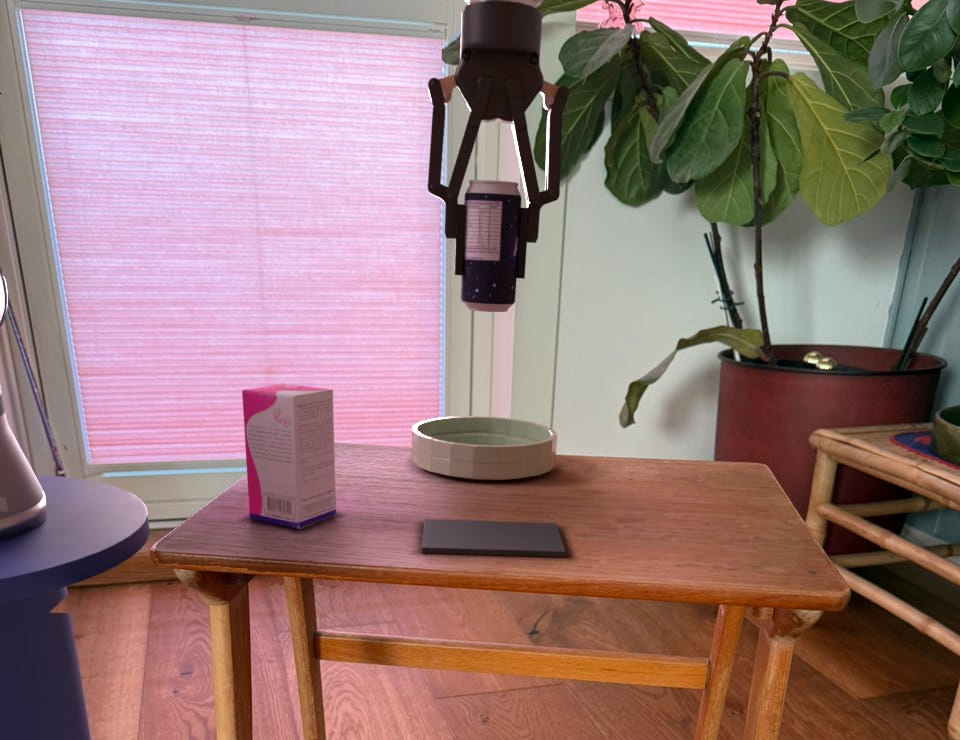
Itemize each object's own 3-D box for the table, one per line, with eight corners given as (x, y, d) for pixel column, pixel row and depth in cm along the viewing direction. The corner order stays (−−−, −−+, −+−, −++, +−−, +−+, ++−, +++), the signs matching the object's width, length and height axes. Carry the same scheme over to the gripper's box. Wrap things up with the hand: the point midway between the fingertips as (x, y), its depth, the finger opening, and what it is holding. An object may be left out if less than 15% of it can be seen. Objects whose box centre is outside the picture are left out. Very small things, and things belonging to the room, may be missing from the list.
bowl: (408, 481, 96) (409, 443, 94) (414, 447, 111) (415, 414, 109) (561, 486, 97) (564, 449, 95) (546, 451, 111) (549, 418, 110)
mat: (421, 553, 75) (421, 547, 75) (424, 524, 83) (424, 519, 82) (565, 557, 76) (566, 551, 76) (555, 528, 83) (556, 523, 83)
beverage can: (520, 313, 93) (529, 182, 88) (466, 311, 92) (472, 178, 87) (506, 308, 98) (514, 184, 93) (455, 306, 97) (459, 181, 92)
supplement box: (338, 514, 84) (335, 388, 79) (298, 530, 79) (292, 396, 75) (288, 504, 87) (282, 380, 82) (247, 519, 82) (238, 389, 77)
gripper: (596, 21, 88) (574, 278, 97) (402, 9, 87) (399, 270, 96) (608, 4, 81) (584, 282, 91) (399, -10, 80) (396, 273, 90)
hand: (489, 275), depth 93 cm, fingers closed on beverage can, 6 cm apart
